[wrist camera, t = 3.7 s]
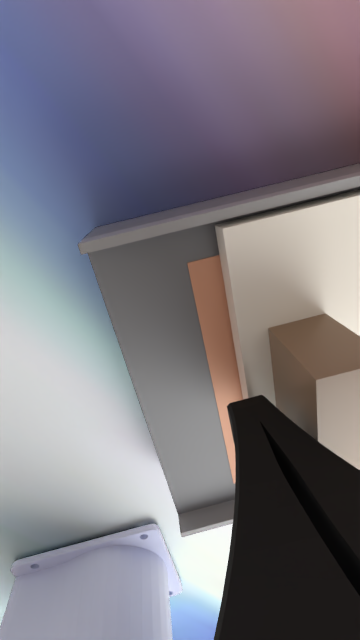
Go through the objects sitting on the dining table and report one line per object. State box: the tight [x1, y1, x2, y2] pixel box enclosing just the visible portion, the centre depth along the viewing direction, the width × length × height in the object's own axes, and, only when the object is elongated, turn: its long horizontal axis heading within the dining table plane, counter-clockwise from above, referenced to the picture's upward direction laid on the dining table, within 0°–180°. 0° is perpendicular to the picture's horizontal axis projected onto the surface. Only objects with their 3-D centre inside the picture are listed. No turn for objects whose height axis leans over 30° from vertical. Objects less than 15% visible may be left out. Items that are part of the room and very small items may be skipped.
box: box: [78, 163, 360, 537], centre depth 13 cm, size 16×14×4 cm
